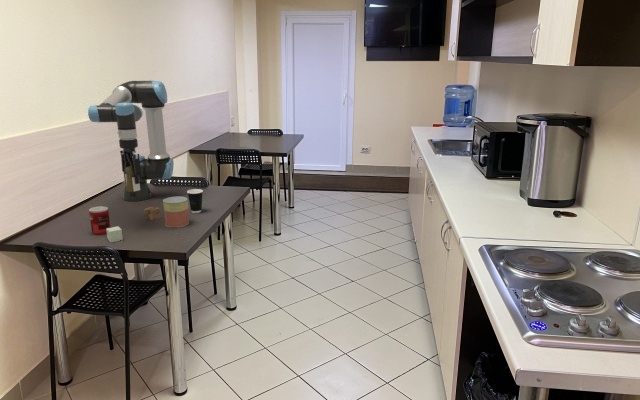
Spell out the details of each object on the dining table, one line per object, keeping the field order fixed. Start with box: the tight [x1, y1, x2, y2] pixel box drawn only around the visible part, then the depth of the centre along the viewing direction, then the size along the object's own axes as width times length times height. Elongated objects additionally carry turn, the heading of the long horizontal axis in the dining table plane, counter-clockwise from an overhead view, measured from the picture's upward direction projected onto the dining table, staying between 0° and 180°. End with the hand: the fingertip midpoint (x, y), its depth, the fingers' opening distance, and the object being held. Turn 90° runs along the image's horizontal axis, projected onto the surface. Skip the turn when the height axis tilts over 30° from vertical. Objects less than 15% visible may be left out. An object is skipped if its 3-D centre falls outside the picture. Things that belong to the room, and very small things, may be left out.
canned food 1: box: [88, 205, 111, 236], centre depth 214 cm, size 8×8×11 cm
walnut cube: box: [143, 206, 161, 221], centre depth 235 cm, size 5×5×5 cm
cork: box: [125, 166, 141, 192], centre depth 215 cm, size 6×6×11 cm
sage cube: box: [106, 225, 124, 243], centre depth 206 cm, size 5×5×5 cm
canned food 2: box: [162, 195, 190, 228], centre depth 226 cm, size 11×11×12 cm
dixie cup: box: [186, 188, 204, 214], centre depth 244 cm, size 8×8×11 cm
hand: (133, 189), depth 217 cm, fingers closed on cork, 6 cm apart
